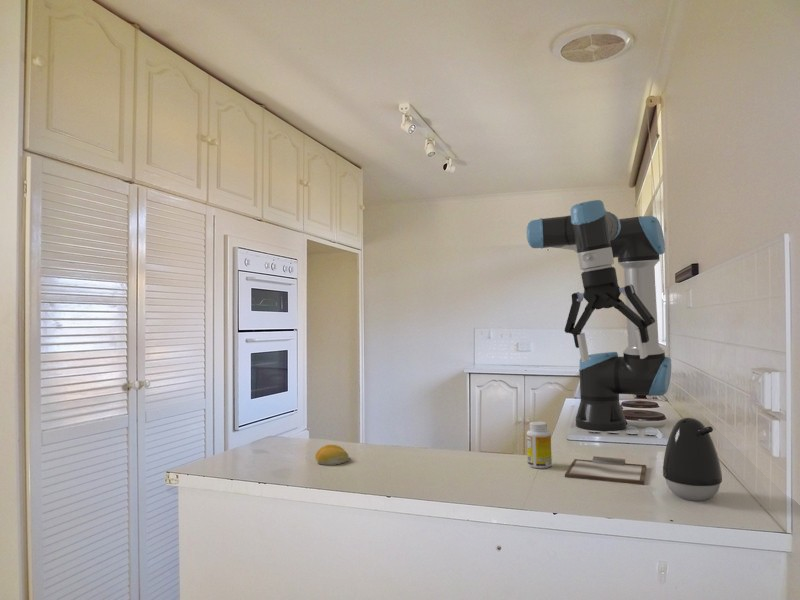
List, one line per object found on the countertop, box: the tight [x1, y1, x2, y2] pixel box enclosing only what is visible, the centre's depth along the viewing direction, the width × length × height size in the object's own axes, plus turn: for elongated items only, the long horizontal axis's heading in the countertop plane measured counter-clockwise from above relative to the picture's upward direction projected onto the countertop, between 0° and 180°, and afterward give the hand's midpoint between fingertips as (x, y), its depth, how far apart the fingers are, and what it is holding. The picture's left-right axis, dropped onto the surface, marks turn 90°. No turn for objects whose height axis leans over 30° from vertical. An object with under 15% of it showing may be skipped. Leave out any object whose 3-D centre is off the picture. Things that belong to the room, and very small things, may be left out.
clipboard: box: [564, 455, 647, 485], centre depth 127 cm, size 14×16×2 cm
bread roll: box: [315, 444, 349, 466], centre depth 144 cm, size 8×9×4 cm
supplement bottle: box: [526, 421, 553, 470], centre depth 134 cm, size 6×6×10 cm
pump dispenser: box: [662, 417, 723, 502], centre depth 109 cm, size 10×10×15 cm
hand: (613, 359), depth 130 cm, fingers open, 13 cm apart
